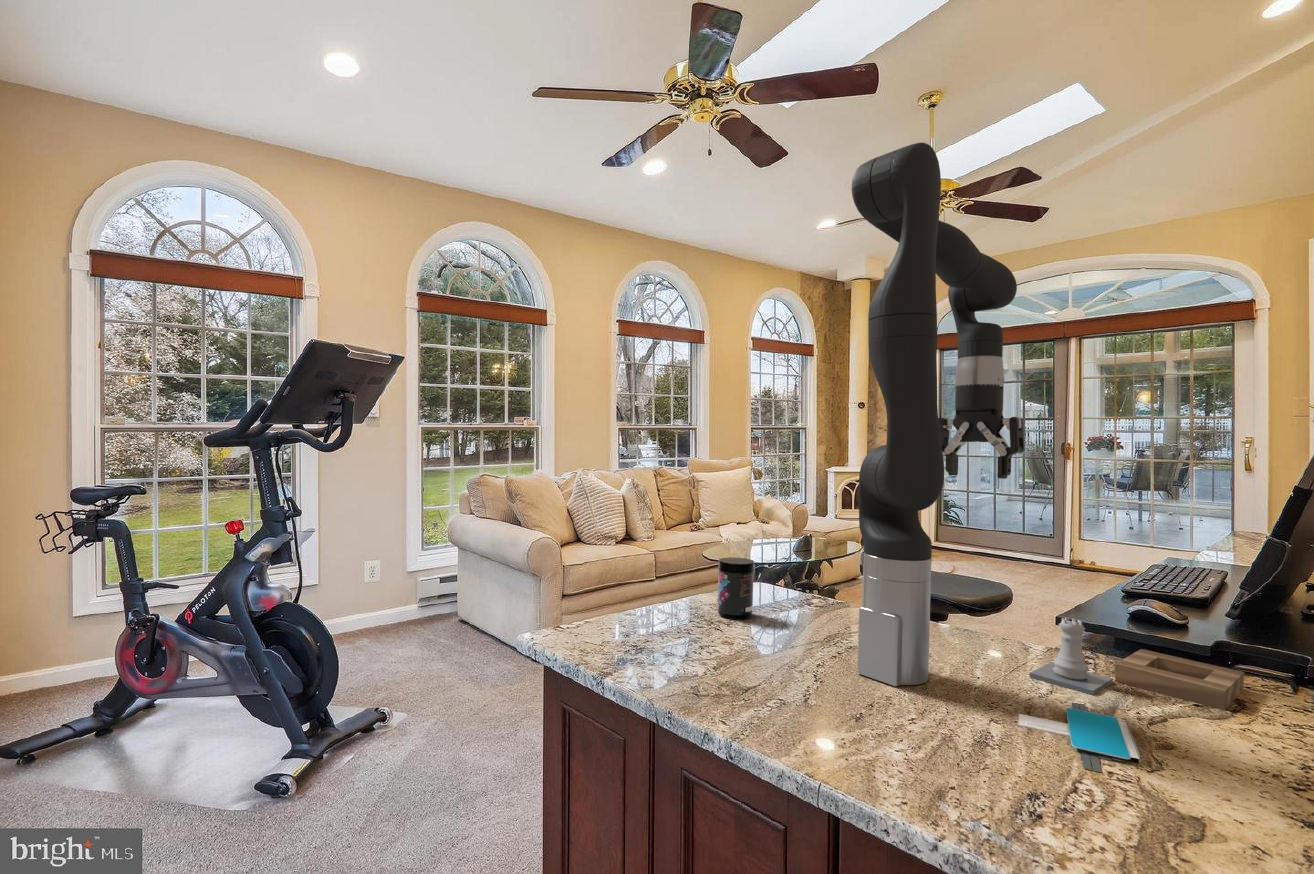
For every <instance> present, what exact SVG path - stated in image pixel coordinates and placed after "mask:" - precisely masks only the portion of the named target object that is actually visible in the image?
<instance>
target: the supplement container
mask: <svg viewBox="0 0 1314 874" xmlns="http://www.w3.org/2000/svg"><path fill="white" fill-rule="evenodd" d="M717 568H718V577H717V578H718V584H717V585H718V586H717V613H718V615H719V616H721V617H723V618H724V619H729V620H747V619H749V618H751V617H752V615H753V610H754V609H753V606H754V603H753V602H754V577H755V576H754V573H755V561H754V560H752V559H749V558H743V557H731V556H729V557H721V558H719V559H718V567H717Z"/></svg>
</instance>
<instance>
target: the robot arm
mask: <svg viewBox="0 0 1314 874" xmlns="http://www.w3.org/2000/svg"><path fill="white" fill-rule="evenodd" d="M941 177H942V176H941V168H940V163H939V159H938V156H937V154H936V151H935V150H934V148H933V147H932V146H931V145H930V144H929V143H926V142H916V143H912V144H909V145H906V146H902V147H900V148H897V149H894V150H893V151H890V152H887V153H884V154H882V155H878V156H876V157H874V158H871V159H869V160H867V161H866V162H864V163H862V164H860V165H859V166H858V167H857V168H856V169H855V172H853V176H852V179H851V196H852V199H853V203H854V205H855V207H856V209H857V211H858V213H859V214H860V215H861V216H862V218H864V220H866V221H867V223H869V224H870V225H871V226H874V228H876V229H878V230H879V231H881V232H882V233H884V234H886V235H887V236H888V237H890V238H891V239H893V240H894V241H896V242H897V243H898V246H897V248H896V251H895V254H894V256H893V259H892V261H891V262H890V264H889V267H888V268H887V270H886V272H885V274H884V276H883V277H882V279H881V281H880V283H879V284H878V287H877V288H876V291H875V292H874V294H873V297H872V299H871V302H870V305H869V308H868V316H867V318H868V320H867V321H868V323H867V326H868V327H867V328H868V329H867V330H868V332H867V333H868V335H867V336H868V337H867V338H868V342H867V343H868V355H869V360H870V364H871V368H872V371H873V374H874V376H875V379H876V381H877V384H878V387H879V388H880V389H879V390H880V392H881V395H882V398H883V401H884V402H883V403H884V405H885V411H886V444H884V445H880V446H877V447H875V448H873V449H872V450H870V452H868V454H866V456H865V457H864V459H862V463H861V466H860V469H859V477H858V521H859V522H858V525H859V531H860V534H861V537H862V541H863V565H862V566H863V569H862V596H861V597H862V600H861V601H862V602H861V607H860V608H858V609H859V610H858V635H857V636H858V638H857V639H858V642H857V643H858V644H857V645H858V646H857V671H856V673H857V674H858V675H863V677H867V678H870V679H873V680H876V681H879V682H882V683H885V684H888V685H890V686H893V687H898V686H915V685H916V686H917V685H922V684H925V683H926V682H928V681H929V673H930V672H929V669H930V668H929V667H930V666H929V665H930V662H929V661H930V631H931V630H930V629H931V628H930V625H931V624H930V620H931V593H932V592H931V589H932V588H931V587H932V586H931V585H932V580H931V579H932V555H933V552H932V551H933V548H932V546H933V543H932V540H931V538H930V536H929V535H928V534H927V533H926V532H925V530H924V529H923V526H922V524H921V522H920V518H919V517H920V516H919V511H920V512H921V511H924V510H926V509H927V508H929V507H930V508H931V506H932V505H933V504H934V503H935V502H936V501H937V500H938V498H939V496H940V495H941V493H942V491H943V487H944V483H945V471H946V472H947V473H948V476H955V477H956V476H958V475H959V454H958V453H959V451H960V450H961V449H962V448H963V446H965V445H966V444H967V443H977V442H979V443H989V444H990V445H991V446H992V447H994V449H995V450H996V451H997V453H998V454H999V456H997V479H998V480H999V479H1001V480H1002V479H1003V480H1004V479H1005V480H1006V479H1008V476H1010V475H1011V473H1012V458H1013V456H1015V455H1017V454H1021V453H1023V452H1024V451H1025V435H1024V433H1025V432H1024V431H1025V429H1024V419H1023V418H1022V417H1019V416H1011V417H1008V418H1007V417H1006V418H1005V416H1004V415H1003V413H1004V412H1003V411H1004V385H1005V384H1004V383H1005V377H1004V376H1005V371H1004V370H1005V369H1004V363H1003V362H1004V361H1003V360H1004V359H1003V356H1004V353H1003V351H1004V350H1003V348H1004V345H1003V344H1004V332H1003V328H1002V326H1001V325H1000V324H997V323H992V322H983V321H982V322H981V321H978V320H977V318H976V312H982V311H983V312H984V311H989V310H997V309H1001V308H1005V307H1007V306H1009V305H1010V304H1011V303H1012V301H1014V299H1015V297H1016V294H1017V293H1018V291H1017V289H1018V285H1017V279H1016V278H1015V276H1014V274H1013V272H1012V271H1011V269H1009V268H1008V267H1007V266H1006V265H1005V264H1004V263H1002V262H1000V261H999V260H996V259H995V258H993V257H991V256H989V255H987V254H985V253H983V252H981V251H980V250H979V248H978V247H977V245H975V243H974V242H973V240H971V238H970V237H969V236H968V235H967V234H966V233H965V232H963V230H961V229H960V228H958V227H956V226H954V225H952V224H950V223H947V222H945V221H941V220H939V218H940V207H941V194H942V193H941V192H942V189H941V188H942V181H941ZM936 276H938V278H939V279H940V280H941V281H942V282H943V283H944V284H945V285H946V286H948V289H947V294H948V295H947V296H948V297H947V298H948V303H949V306H950V309H951V311H952V312H951V313H952V316H953V319H954V324H955V328H956V332H957V333H956V334H957V363H956V368H955V394H954V395H955V396H954V397H955V398H954V411H955V416H954V417H953V418H949V417H939V413H938V412H939V411H938V366H937V365H938V364H937V362H938V361H937V359H938V358H937V351H938V310H937V307H938V306H937V289H936V288H937V282H936V281H937V277H936ZM953 426H954V428H955V430H956V432H955V434H954V435H953V436H952V438H951V439H950V431H951V430H952V428H953ZM1004 427H1006V429H1007V430H1008V431H1009V445H1008V443H1007V440H1006V439H1005V437H1004V436H1003V435H1002V434H1001V430H1002V429H1003V428H1004ZM949 439H950V440H949ZM944 454H945V461H944Z"/></svg>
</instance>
